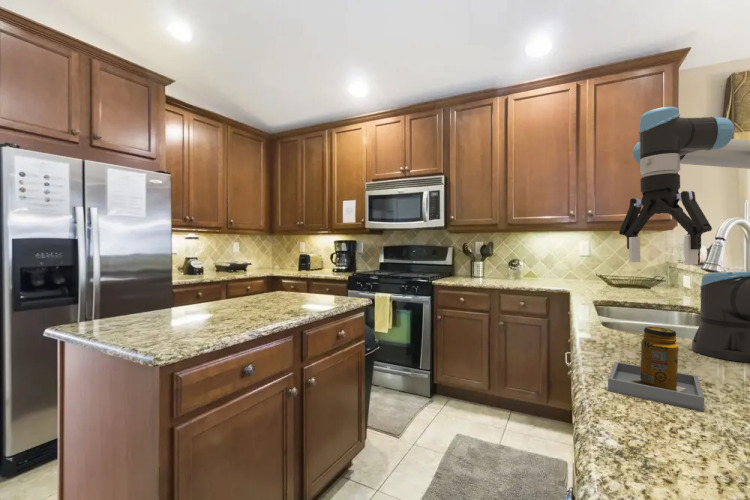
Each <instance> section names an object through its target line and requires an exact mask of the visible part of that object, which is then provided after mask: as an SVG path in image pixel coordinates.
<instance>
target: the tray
mask: <svg viewBox="0 0 750 500" xmlns="http://www.w3.org/2000/svg"><path fill="white" fill-rule="evenodd" d="M640 371H641V365H637V364H631V363H626V362H620V361H614V364H613V365H612V369H611V370H610V373H609V375H608V379H607V391H608V392H611V393H616V394H621V395H624V396H632V397H635V398H640V399H645V400H649V401H653V402H658V403H663V404H667V405H671V406H676V407H680V408H685V409H691V410H695V411H699V412H704V411H705V396H704V393H703V389H702V387H701V382H700V378H699V376H698V375H694V374H689V373H684V372H683V373H682V372H678V371H677V386H680V387H683V388H685V389H684V390H682V391H680V392H678V391H673V390H668V389H663V388H658V387H653V386H648V385H643V384H638V383H633V382H632V381H634V380H639V379H640Z"/></svg>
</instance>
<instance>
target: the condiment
mask: <svg viewBox="0 0 750 500" xmlns="http://www.w3.org/2000/svg"><path fill="white" fill-rule="evenodd" d="M643 331H644V334H643V339H641V342H640V343H641V349H640V350H641V351H640V366H641V371H640V379H639V380H634V381H632V382H633V383H638V384H643V385H648V386H653V387H658V388H663V389H668V390H673V391H678V392H680V391H682V390H684V389H685V388H683V387H680V386H677V372H678V364H679V363H678V360H679V358H678V357H679V346H678V344H677V332H676V331H675V330H673V329H670V328H665V327H659V326H645V327H644V329H643Z"/></svg>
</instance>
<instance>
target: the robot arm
mask: <svg viewBox="0 0 750 500" xmlns="http://www.w3.org/2000/svg"><path fill="white" fill-rule="evenodd" d="M638 130H639V131H638V136H639V141H638V142H636V144H635V145H634V147H633V151H632V157H633V158H634V160H635V162H637V164H639V165H640V167H639V168H640V171H639V172H640V175H641V176H642V177H640V180H639V181H640V193H642V197H641V198H634V197H633V198H630V200H629V206H628V207H629V208H628V210H627V213H626V215H625V217H624V219H623V222H622V224H621V226H620V229H619V232H618V233H619V235H621V236H625V237H626V249H627V250H628V260H629V261H628V262H629V263H640V262H641V236H639V233H641V231H642V229H643V228H644V227H645V226H646V224H647V223H648V221H649V220H650V219H651V218H652V217H653V216H655V215H661V214H668V215H670V216H672V218H673V219H674V220H676V222H677V223H678V224H679V225H680V226H681V227H682V229H684V230H685V232H687V233H686V235H684V265H689V266H691V265H699V251H698V250H701V249H702V235H703V234H705V233H707V232H711V231H712V230H713V227H712V226H711V224H710V222H709V220H708V219H707V217H706V215H705V214H704V212H703V211H702V209H701V207H700V205H699V204H698V202H697V200H696V199H697V198H696V194H695V193H696V192H695V191H693V190H692V191H691V190H689V191H688V190H683V191H681V192H679V190H680V189H681V175H680V174H679V172H680V171H681V165H690V166H691V165H692V166H693V165H694V166H707V167H720V168H730V169H731V168H733V169H744V170H745V169H746V170H747V169H749V170H750V139H737V138H733V137H734V134H735V131H734V130H735V126H734V123H733V122H732V121H731V120H730V119H729V118H727V117H719V116H717V117H715V116H709V117H703V116H702V117H681V114H680V110H679V108H678V107H676V106H662V107H658V108H654V109H651V110H648V111H646V112H645V113H643V114H642V115H641V116H640V118H639V129H638ZM680 201H681V203H682V205H683V207H684V209H685V211H686V212H687V213H686V212H685V211H684V209H683V208H682V207H681V206H680V205H679V204H678V203H679V202H680ZM699 287H700V322H699V326H698V327H697V330H696V332H695V335H694V337H693V339H692V342H691V350H692V351H693V352H696V353H698V354H701V355H703V356H708V357H710V358H711V357H712V358H716V359H722V360H726V361H727V360H728V361H733V362H741V363H742V362H743V363H750V271H728V272H727V271H717V272H709V273H706V274H704V275H703V276H702V278H701V285H700V286H699Z"/></svg>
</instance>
